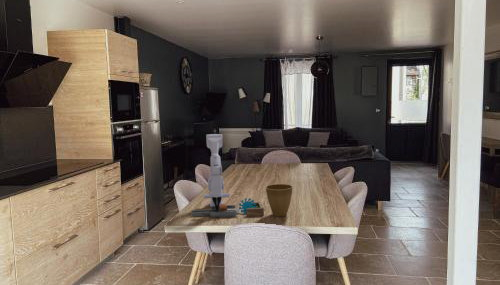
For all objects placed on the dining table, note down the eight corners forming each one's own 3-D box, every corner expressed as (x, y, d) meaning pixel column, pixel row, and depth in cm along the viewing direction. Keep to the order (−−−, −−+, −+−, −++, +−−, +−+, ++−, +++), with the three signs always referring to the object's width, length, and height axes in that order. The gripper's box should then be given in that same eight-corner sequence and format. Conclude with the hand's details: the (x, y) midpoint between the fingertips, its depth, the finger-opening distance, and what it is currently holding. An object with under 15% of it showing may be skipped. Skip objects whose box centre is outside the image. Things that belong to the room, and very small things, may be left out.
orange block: (219, 212, 216) (219, 203, 215) (239, 211, 217) (238, 202, 216) (220, 214, 212) (219, 205, 211) (239, 213, 213) (239, 204, 212)
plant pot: (290, 210, 217) (290, 183, 216) (294, 218, 202) (294, 189, 201) (265, 211, 217) (264, 184, 215) (267, 219, 202) (266, 190, 200)
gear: (236, 210, 213) (241, 195, 218) (237, 215, 217) (243, 201, 223) (254, 214, 209) (259, 199, 215) (256, 219, 214) (260, 204, 220)
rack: (244, 209, 222) (244, 202, 221) (260, 208, 223) (260, 201, 222) (246, 216, 208) (246, 209, 208) (263, 215, 209) (263, 208, 208)
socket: (192, 211, 219) (192, 206, 219) (235, 209, 221) (235, 204, 221) (190, 218, 205) (190, 213, 205) (236, 216, 207) (236, 211, 207)
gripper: (203, 188, 207) (204, 212, 209) (229, 187, 209) (230, 211, 210) (203, 186, 214) (204, 209, 216) (229, 185, 216) (229, 208, 217)
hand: (217, 210), depth 213 cm, fingers closed
